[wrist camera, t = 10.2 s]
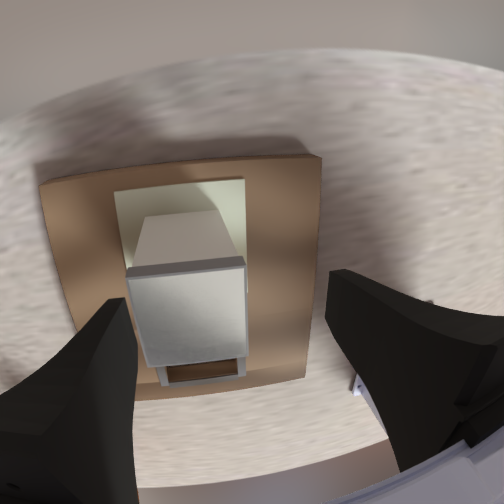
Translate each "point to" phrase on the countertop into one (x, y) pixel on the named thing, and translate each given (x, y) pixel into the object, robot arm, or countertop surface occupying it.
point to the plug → (188, 290)
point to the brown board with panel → (243, 237)
